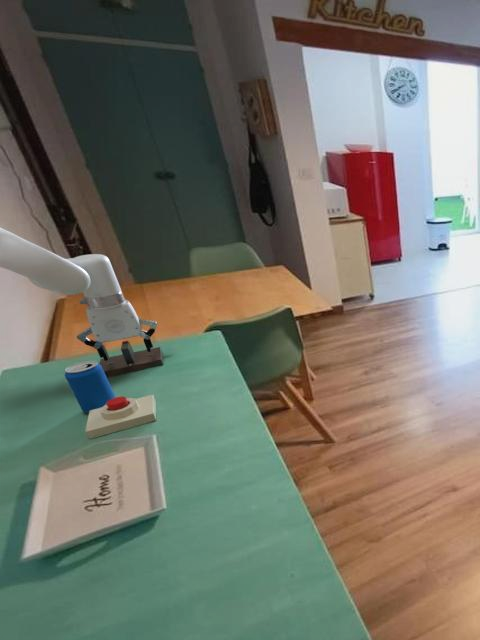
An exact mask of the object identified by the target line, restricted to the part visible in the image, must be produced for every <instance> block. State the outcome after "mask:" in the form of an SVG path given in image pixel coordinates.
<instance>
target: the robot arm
mask: <svg viewBox="0 0 480 640" xmlns="http://www.w3.org/2000/svg"><path fill="white" fill-rule="evenodd" d="M0 268H2V269H5V270H7V271H11V272H13V273H15V274H18V275H20V276H23V277H26V278H27V279H28V280H29V281H30V283H32V284H33V285H34V286H36V287H38V288H41V289H44V290H47V291H51V292H55V293H59V294H62V295H67V296H72V295H73V296H74V295H80V294H83V296H84V297H83V298H79V299H78V303H79V304H80V305H86V306H87V307H86V308H85V311H86V312H85V313H86V317H87V320H88V324H89V327H88V328H86V329H85V330H83V331H81V332H79V333H78V334H77V335H76V339H77V340H79V341H80V342H81V343H83V344H85V345H86V346H89V347H92V348H93V349H95V350H96V351H97V354H98V356H99V358H100V359H103V358H104V360H105V361H107V360H108V358H109V357H110V356H109V353H108V350H107V349H106V346H105V344H104V343H109V342H114V341H115V342H116V341H120V340H125V339H131V338H136V337H141V338H143V343H144V346H145V348H146V350H147V351H148V352H151V349H152V348H154V344H153V342H152V339H151V337H152V336H153V335H154V333H155V332H156V329H157V326H158V322H157V321H156V320H150V319H144V318H139V316H138V314H137V312H136V310H135V308H134V307H133V305H132V304H131V302H130V301H129V300H128V299H126V298H125V296H124V294H123V291H122V289H121V285H120V283H119V281H118V278H117V276H116V273H115V271H114V268H113V266H112V263H111V260H110V259H109V257H108V256H106V255H105V254H100V253H91V254H82V255H78V256H75V257H71V258H64V257H62V256H60V255H58V254H56V253H54V252H52V251H50V250H48V249H47V248H44V247H42V246H40V245H38V244H36V243H33V242H31V241H29V240H27V239H25V238H24V237H23V238H22V237H21V236H19V235H17V234H15V233H13V232H11V231H9V230H7V229H4V228H2V227H0ZM143 325H145V326H149V329H148V330H145V329H143ZM91 334H92V335H93V338H94V339H95V340H93V339H90V338H88V337H89V335H91Z"/></svg>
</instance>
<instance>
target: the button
mask: <svg viewBox="0 0 480 640" xmlns="http://www.w3.org/2000/svg"><path fill="white" fill-rule="evenodd" d="M115 397H116V398H113V399H111V400H109V401H108V402H107V403H106V404H107V406H108V409H109V410H110V411H116V410H119V409H122V408H125V407H127V406H128V405H129V403H128V401H127V398H128V397H126V396H115Z"/></svg>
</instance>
